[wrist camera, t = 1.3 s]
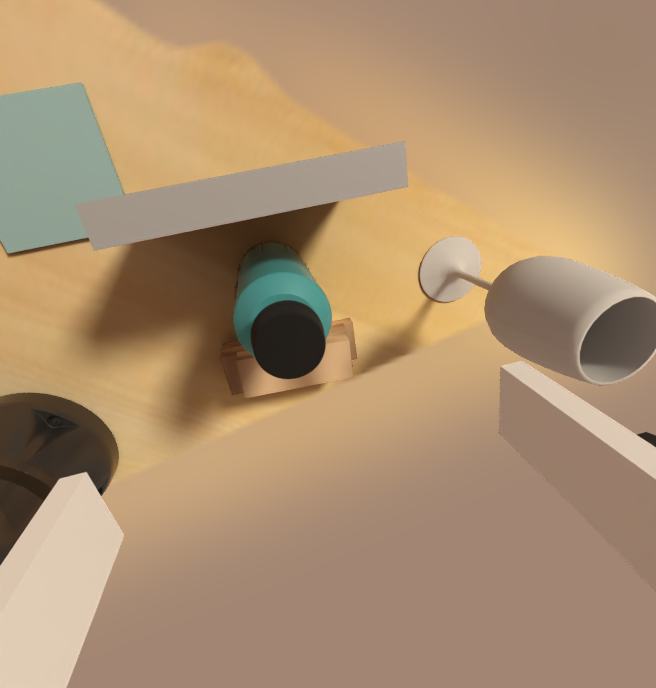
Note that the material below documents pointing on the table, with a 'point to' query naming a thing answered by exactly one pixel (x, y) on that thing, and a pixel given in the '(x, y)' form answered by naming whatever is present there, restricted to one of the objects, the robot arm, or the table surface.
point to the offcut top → (329, 369)
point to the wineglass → (553, 311)
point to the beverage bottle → (280, 312)
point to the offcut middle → (231, 353)
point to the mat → (50, 166)
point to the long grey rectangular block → (243, 196)
